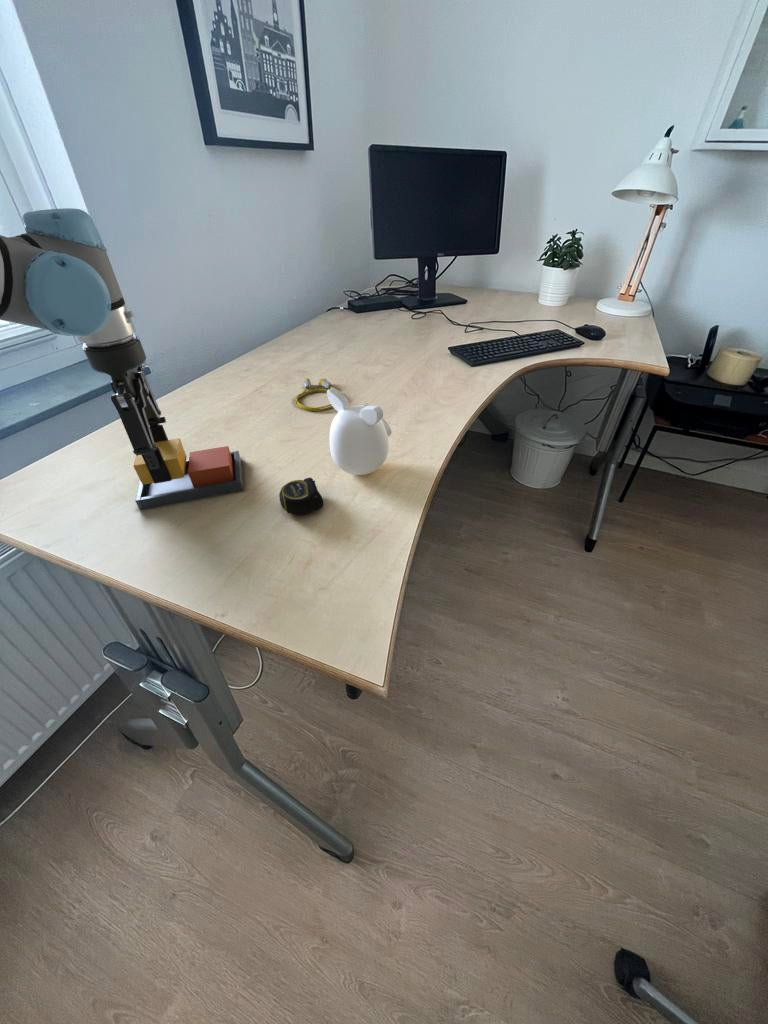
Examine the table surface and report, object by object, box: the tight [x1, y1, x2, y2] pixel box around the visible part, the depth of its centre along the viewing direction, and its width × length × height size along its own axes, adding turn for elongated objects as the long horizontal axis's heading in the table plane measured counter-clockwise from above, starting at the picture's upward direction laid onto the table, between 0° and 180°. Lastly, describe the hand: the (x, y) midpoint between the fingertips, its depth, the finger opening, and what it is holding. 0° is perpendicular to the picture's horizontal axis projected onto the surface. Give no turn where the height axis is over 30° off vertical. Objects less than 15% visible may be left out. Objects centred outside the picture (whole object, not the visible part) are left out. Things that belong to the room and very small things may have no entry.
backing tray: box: [135, 450, 244, 511], centre depth 80 cm, size 18×11×2 cm, turn 107°
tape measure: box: [278, 477, 325, 516], centre depth 74 cm, size 7×7×4 cm
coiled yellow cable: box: [294, 377, 334, 412], centre depth 107 cm, size 12×16×2 cm
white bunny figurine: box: [326, 387, 392, 476], centre depth 79 cm, size 12×12×15 cm
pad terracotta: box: [188, 445, 234, 488], centre depth 80 cm, size 7×7×4 cm
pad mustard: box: [132, 437, 188, 485], centre depth 77 cm, size 7×7×4 cm
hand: (164, 468), depth 78 cm, fingers closed on pad mustard, 7 cm apart
